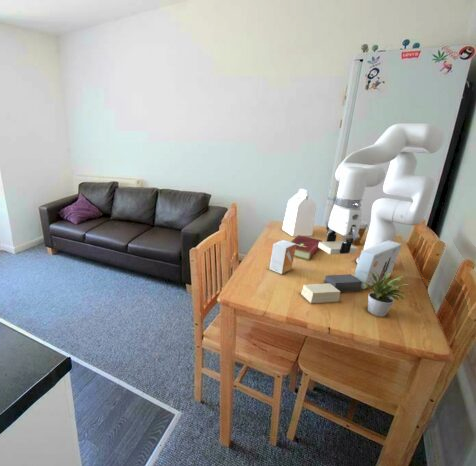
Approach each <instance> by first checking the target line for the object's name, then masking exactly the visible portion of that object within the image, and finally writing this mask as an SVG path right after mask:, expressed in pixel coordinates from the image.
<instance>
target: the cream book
mask: <svg viewBox="0 0 476 466" xmlns="http://www.w3.org/2000/svg"><path fill="white" fill-rule="evenodd" d="M342 243H344V241H343V240H336V241H329V242H326V241H322V242H319V244H318V248H319V249H321V250H322V251H323V252H325V253H326V254H328V255H329V256H330V255H331V256H332V255H353V254H357V253H358V249H359V248H358V247H357V246H356V245H351V248H350V252H349V253H340V249H341V245H342Z"/></svg>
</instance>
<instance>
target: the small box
mask: <svg viewBox="0 0 476 466" xmlns="http://www.w3.org/2000/svg"><path fill="white" fill-rule="evenodd" d="M295 248H296V244H295V243H292V242H291V241H288V240H285V239H282V240H279V241H277V242H275V243H273V244H272V249H271V250H272V251H271V257H270V263H269V264H270V265H269V270H271V271H273V272H275V273H278V274H281V275H283V274H285V273H286V272H289V271H291V270H292V269H293V263H294V257H295V256H294V253H295Z"/></svg>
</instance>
